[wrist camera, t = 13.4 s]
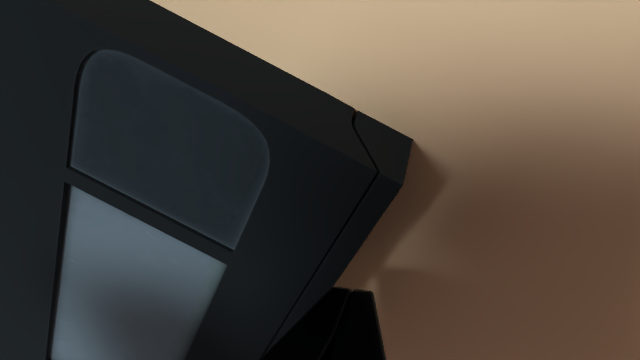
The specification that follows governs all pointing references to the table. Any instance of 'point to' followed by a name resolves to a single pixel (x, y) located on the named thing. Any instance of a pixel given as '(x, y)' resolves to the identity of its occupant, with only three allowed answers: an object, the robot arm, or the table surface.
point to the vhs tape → (169, 187)
